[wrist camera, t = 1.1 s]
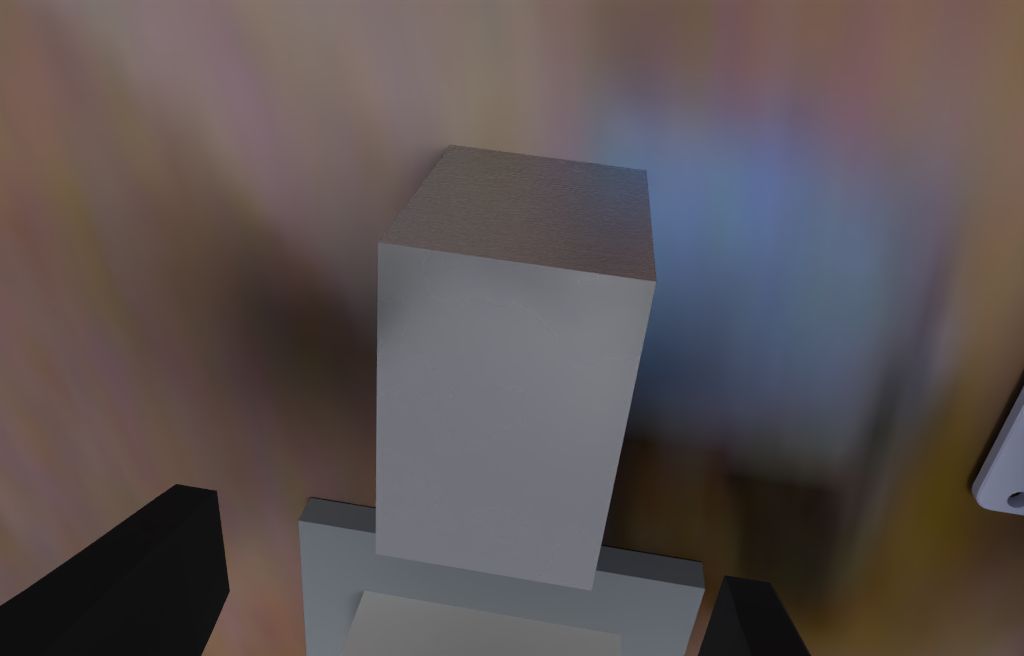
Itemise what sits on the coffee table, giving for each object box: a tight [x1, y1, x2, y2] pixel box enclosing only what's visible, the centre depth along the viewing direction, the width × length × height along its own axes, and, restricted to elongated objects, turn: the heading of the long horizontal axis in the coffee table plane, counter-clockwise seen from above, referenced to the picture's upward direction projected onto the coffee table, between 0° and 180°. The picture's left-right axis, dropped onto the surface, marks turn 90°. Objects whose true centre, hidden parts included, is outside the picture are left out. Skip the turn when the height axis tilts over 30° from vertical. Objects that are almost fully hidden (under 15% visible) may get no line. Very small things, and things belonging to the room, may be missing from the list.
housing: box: [376, 145, 656, 591], centre depth 16 cm, size 4×7×6 cm, turn 174°
